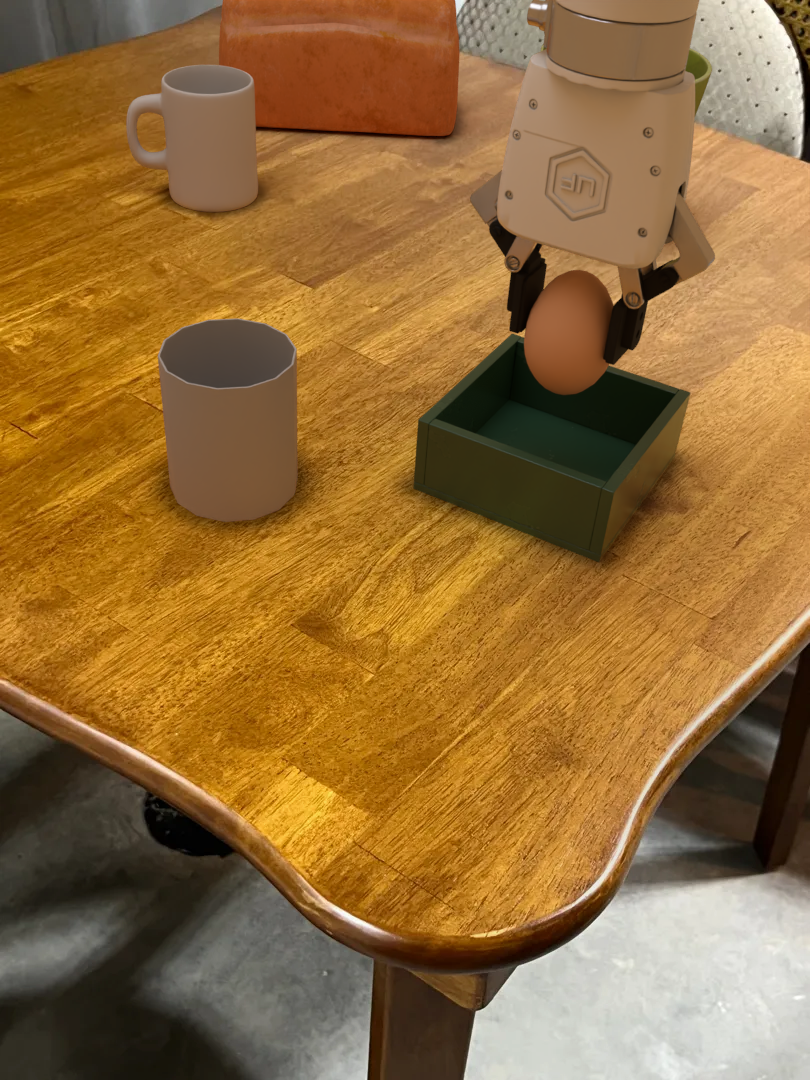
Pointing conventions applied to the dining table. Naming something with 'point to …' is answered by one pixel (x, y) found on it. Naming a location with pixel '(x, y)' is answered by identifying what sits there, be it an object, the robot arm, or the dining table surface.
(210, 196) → the mug
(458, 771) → the dining table surface
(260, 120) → the bread
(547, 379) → the egg
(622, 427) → the dark green open crate
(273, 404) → the cup
